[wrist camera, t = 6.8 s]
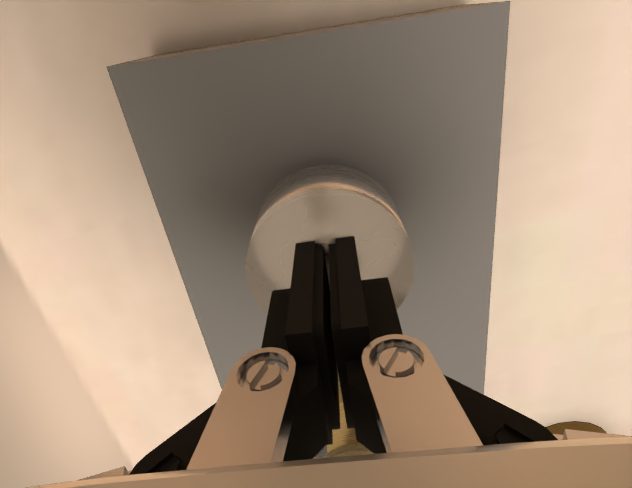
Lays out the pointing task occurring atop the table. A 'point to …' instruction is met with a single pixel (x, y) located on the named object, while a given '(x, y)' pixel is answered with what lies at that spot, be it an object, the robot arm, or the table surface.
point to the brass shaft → (344, 438)
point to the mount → (332, 159)
